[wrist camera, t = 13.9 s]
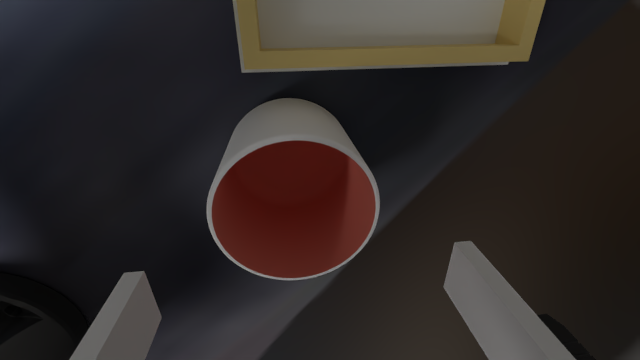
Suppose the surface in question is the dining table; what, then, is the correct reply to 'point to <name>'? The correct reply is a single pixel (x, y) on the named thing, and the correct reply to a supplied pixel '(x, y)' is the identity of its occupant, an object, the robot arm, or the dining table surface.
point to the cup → (291, 193)
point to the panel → (383, 33)
